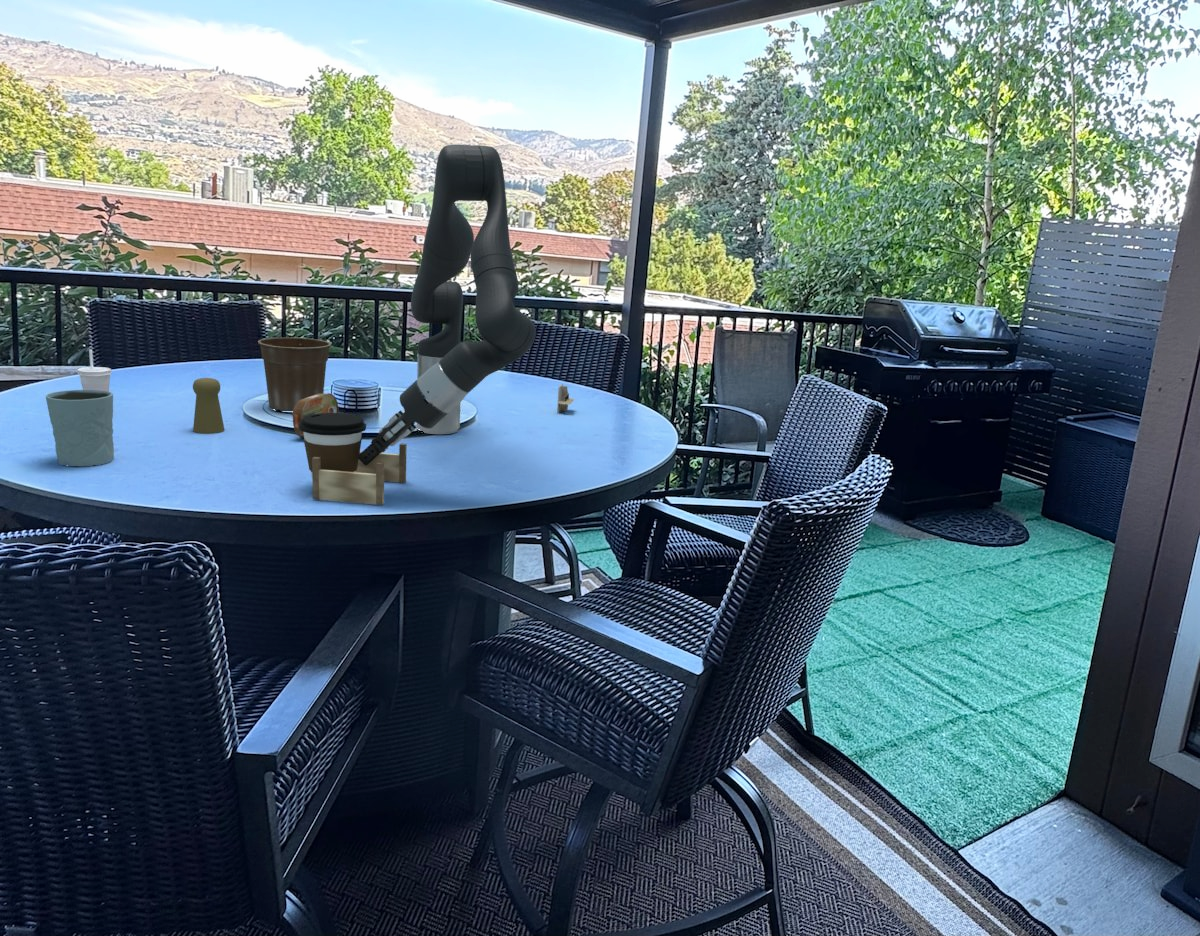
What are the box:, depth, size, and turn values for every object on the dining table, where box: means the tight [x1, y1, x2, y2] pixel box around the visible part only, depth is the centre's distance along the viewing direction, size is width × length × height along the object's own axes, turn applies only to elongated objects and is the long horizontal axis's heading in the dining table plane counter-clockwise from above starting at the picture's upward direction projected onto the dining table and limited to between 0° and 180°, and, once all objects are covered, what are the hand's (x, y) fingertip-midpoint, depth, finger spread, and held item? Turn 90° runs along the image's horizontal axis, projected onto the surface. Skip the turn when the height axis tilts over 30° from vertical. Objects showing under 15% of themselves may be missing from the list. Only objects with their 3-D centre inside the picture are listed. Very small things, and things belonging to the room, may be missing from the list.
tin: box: [292, 393, 340, 439], centre depth 180 cm, size 15×3×8 cm, turn 168°
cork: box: [192, 377, 225, 435], centre depth 176 cm, size 6×6×11 cm
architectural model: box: [556, 383, 575, 414], centre depth 221 cm, size 3×7×7 cm, turn 173°
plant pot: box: [257, 337, 332, 412], centre depth 201 cm, size 16×16×16 cm
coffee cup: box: [299, 412, 367, 476], centre depth 144 cm, size 11×11×12 cm
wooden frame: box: [311, 443, 408, 506], centre depth 144 cm, size 12×14×7 cm
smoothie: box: [77, 348, 113, 392], centre depth 183 cm, size 6×6×14 cm
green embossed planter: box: [45, 389, 115, 467], centre depth 149 cm, size 10×10×12 cm
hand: (362, 460), depth 143 cm, fingers closed
